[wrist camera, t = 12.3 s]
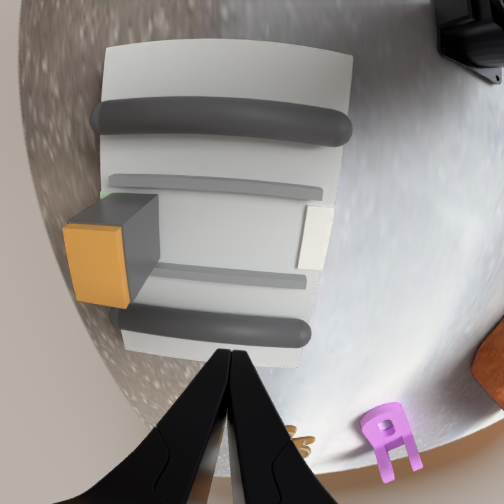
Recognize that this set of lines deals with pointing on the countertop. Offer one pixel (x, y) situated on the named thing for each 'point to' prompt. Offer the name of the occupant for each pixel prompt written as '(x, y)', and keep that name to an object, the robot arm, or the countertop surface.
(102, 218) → the toggle
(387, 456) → the bracket
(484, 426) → the countertop surface
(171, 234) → the panel
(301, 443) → the cookie
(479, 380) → the bread
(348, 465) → the countertop surface
